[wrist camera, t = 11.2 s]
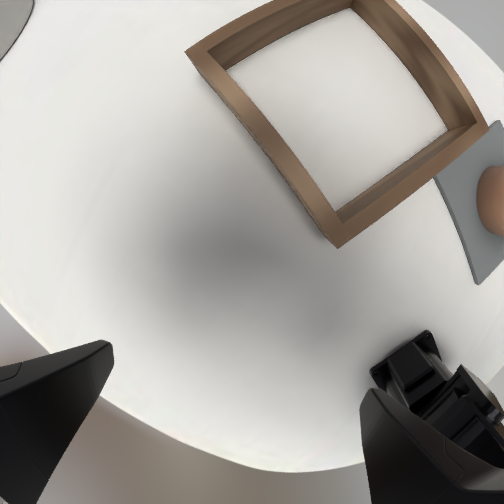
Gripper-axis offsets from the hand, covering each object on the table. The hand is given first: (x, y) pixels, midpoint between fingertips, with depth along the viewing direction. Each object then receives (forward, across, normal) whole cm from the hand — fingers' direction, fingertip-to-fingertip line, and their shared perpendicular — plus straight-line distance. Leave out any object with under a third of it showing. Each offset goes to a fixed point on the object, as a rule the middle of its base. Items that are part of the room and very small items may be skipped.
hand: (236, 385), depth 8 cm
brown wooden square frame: (+12, -4, -14) cm, 19 cm away
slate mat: (+12, -20, -10) cm, 25 cm away
